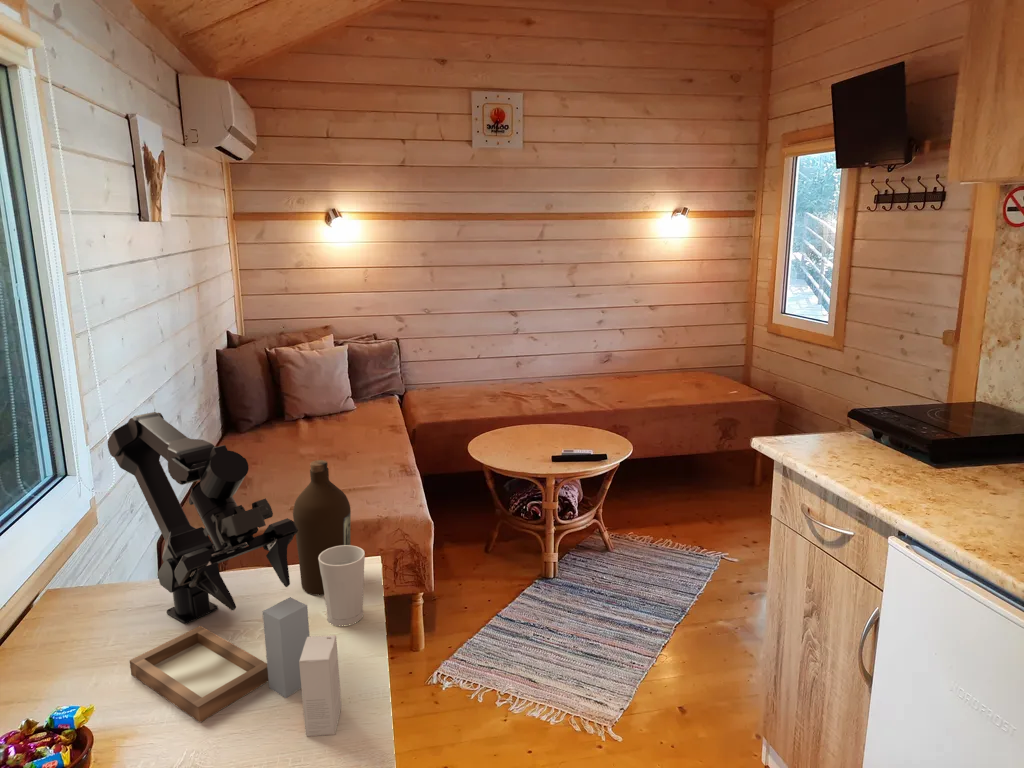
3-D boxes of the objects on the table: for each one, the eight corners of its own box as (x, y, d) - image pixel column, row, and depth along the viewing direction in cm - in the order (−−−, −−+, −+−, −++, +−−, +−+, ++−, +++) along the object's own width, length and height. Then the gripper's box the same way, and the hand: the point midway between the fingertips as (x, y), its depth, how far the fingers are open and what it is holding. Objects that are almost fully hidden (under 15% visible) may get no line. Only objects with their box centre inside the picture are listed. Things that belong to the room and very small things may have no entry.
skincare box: (312, 708, 105) (306, 635, 103) (341, 707, 106) (337, 633, 103) (304, 737, 99) (298, 661, 97) (335, 736, 100) (330, 659, 97)
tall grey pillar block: (269, 688, 110) (262, 611, 107) (296, 671, 114) (290, 597, 111) (285, 698, 108) (279, 619, 105) (312, 681, 112) (307, 605, 109)
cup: (357, 631, 125) (353, 567, 122) (314, 626, 126) (310, 563, 124) (374, 607, 133) (371, 547, 130) (334, 602, 134) (330, 543, 131)
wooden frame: (131, 674, 113) (129, 660, 113) (201, 638, 123) (200, 625, 122) (199, 722, 102) (198, 707, 102) (271, 679, 112) (270, 665, 111)
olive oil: (297, 600, 135) (288, 474, 129) (299, 574, 145) (290, 455, 139) (355, 593, 137) (348, 469, 132) (353, 568, 147) (346, 451, 142)
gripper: (174, 505, 105) (219, 599, 100) (287, 471, 119) (332, 553, 114) (156, 540, 111) (198, 630, 107) (265, 504, 125) (306, 582, 121)
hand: (262, 597), depth 112 cm, fingers open, 9 cm apart
